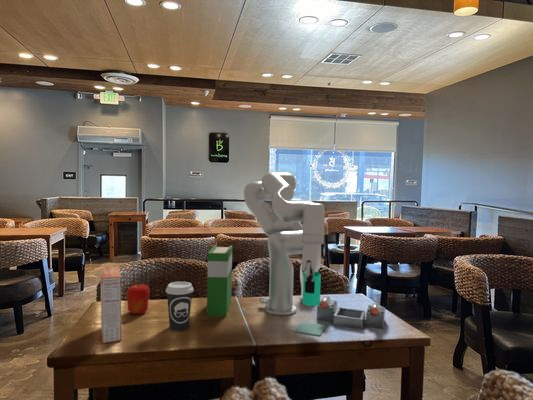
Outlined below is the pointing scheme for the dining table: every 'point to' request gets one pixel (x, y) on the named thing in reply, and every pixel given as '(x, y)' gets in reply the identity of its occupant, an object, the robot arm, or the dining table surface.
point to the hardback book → (219, 281)
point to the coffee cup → (179, 304)
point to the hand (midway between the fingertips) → (311, 290)
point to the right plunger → (375, 309)
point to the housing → (351, 316)
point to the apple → (138, 298)
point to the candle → (312, 298)
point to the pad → (309, 328)
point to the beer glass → (301, 282)
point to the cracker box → (110, 304)
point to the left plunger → (324, 302)
